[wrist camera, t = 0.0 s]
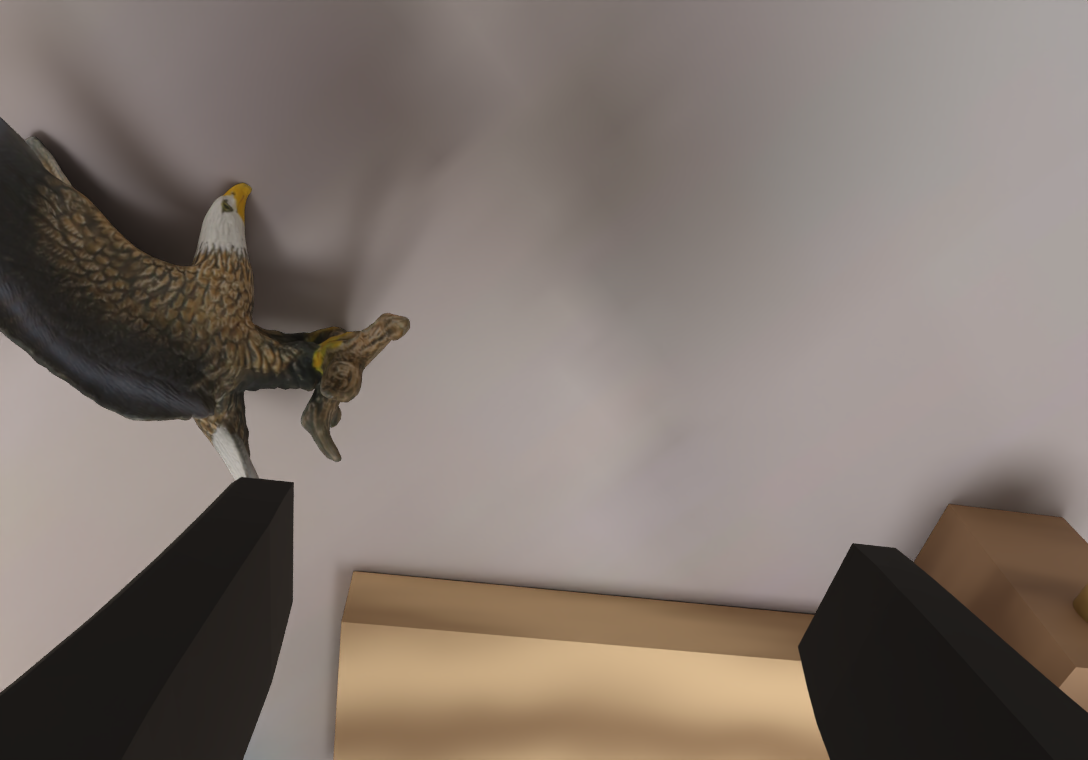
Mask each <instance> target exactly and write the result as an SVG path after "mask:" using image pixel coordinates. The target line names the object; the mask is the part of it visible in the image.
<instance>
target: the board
mask: <svg viewBox="0 0 1088 760" xmlns="http://www.w3.org/2000/svg"><path fill="white" fill-rule="evenodd" d="M813 617H814V615H811V614H800V613H790V612H779V611H769V610H758V609H748V608H737V607H726V606H716V605H705V604H695V603H684V602H673V601H663V600H652V599H642V598H631V597H621V596H610V595H599V594H589V593H578V592H568V591H557V590H546V589H536V588H525V587H515V586H504V585H494V584H483V583H472V582H462V581H451V580H441V579H430V578H419V577H409V576H398V575H388V574H377V573H367V572H356V571H353V576H352V580H351V584H350V588H349V592H348V596H347V601H346V605H345V609H344V613H343V617H342V621H341V637H340V655H339V672H338V689H337V707H336V724H335V741H334V758H333V760H830V758H829V756H828V753H827V750H826V748H825V745H824V742H823V740H822V737H821V734H820V731H819V729H818V726H817V723H816V720H815V716H814V712H813V708H812V704H811V701H810V697H809V693H808V689H807V685H806V681H805V676H804V672H803V667H802V663H801V659H800V654H799V650H798V645H799V643H800V641H801V639H802V638H803V636H804V634H805V632H806V630H807V628H808V626H809V624H810V622H811V621H812V619H813Z"/></svg>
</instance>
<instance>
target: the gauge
mask: <svg viewBox="0 0 1088 760" xmlns="http://www.w3.org/2000/svg"><path fill="white" fill-rule="evenodd" d="M914 563H915V564H916V565H917V566H919V567H920V568H921V569H922V570H924V571H925V572H926V573H927V574H928V575H930V576H931V577H932V578H933V579H934V580H935V581H937V582H938V583H939V584H940V585H941V586H942V587H944V588H945V589H946V590H947V591H948V592H949V593H951V594H952V595H953V596H954V597H955V598H956V599H957V600H959V601H960V602H961V603H962V604H963V605H964V606H965V607H967V608H968V609H969V610H970V611H971V612H972V613H973V614H975V615H976V616H977V617H978V618H979V619H980V620H981V621H982V622H984V623H985V624H986V625H987V626H988V627H989V628H990V629H992V630H993V631H994V632H995V633H996V634H997V635H998V636H1000V637H1001V638H1002V639H1003V640H1004V641H1005V642H1006V643H1008V644H1009V645H1010V646H1011V647H1012V648H1013V649H1014V650H1016V651H1017V652H1018V653H1019V654H1020V655H1021V656H1022V657H1023V658H1025V659H1026V660H1027V661H1028V662H1029V663H1030V664H1032V665H1033V666H1034V667H1035V668H1036V669H1037V670H1038V671H1040V672H1041V673H1042V674H1043V675H1044V676H1045V677H1047V678H1048V679H1049V680H1050V681H1051V682H1052V683H1054V684H1055V685H1056V686H1057V687H1058V688H1059V689H1061V690H1062V691H1063V692H1064V693H1065V694H1066V695H1068V696H1069V697H1070V698H1071V699H1072V700H1074V701H1075V702H1076V703H1077V704H1078V705H1079V706H1081V707H1082V708H1083V709H1084V710H1085V711H1087V712H1088V543H1087V542H1086V541H1085V540H1084V539H1083V538H1082V537H1081V536H1080V535H1079V534H1078V533H1077V532H1076V531H1075V530H1074V529H1073V528H1072V527H1071V526H1070V524H1069V523H1068V522H1067V521H1066V520H1065V519H1064V518H1062V517H1054V516H1045V515H1037V514H1028V513H1020V512H1012V511H1003V510H995V509H986V508H978V507H969V506H961V505H953V504H948V506H947V508H946V509H945V511H944V513H943V514H942V516H941V518H940V519H939V521H938V523H937V524H936V526H935V528H934V529H933V531H932V533H931V534H930V536H929V538H928V539H927V541H926V543H925V544H924V546H923V548H922V549H921V551H920V553H919V554H918V556H917V558H916V559H915V561H914Z"/></svg>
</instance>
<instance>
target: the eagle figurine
mask: <svg viewBox="0 0 1088 760" xmlns="http://www.w3.org/2000/svg"><path fill="white" fill-rule="evenodd" d="M251 190H252V189H251V187H250V186H248V185H247V184H245V183H240V184H237V185H235V186H233V187H232V188H230V189H229V190H228V191H227V192H226V193H225V194H224V195H223V196H220V197H219V198H217V199H216V200H215V201H214V203H213V204H212V206H211V207H210V209H209V211H208V212H207V214H206V216H205V218H204V221H203V224H202V228H201V233H200V237H199V241H198V246H197V250H196V253H195V256H194V259H193V263H192V266H178V265H174V264H171V263H168V262H165V261H162V260H159V259H157V258H154V257H152V256H150V255H148V254H146V253H145V252H143V251H141V250H140V249H138V248H136V247H135V246H134V245H133V244H131V243H130V242H129V241H128V240H127V239H126V238H125V237H124V236H123V235H122V234H121V233H119V232H118V231H117V230H116V228H115V227H114V226H113V225H112V224H111V223H110V222H109V221H108V220H107V218H106V217H105V216H104V215H103V214H102V213H101V212H100V210H99V209H98V208H97V207H96V206H95V205H94V204H93V203H92V202H91V201H90V200H89V199H88V198H87V197H86V196H84V195H83V194H82V193H80V192H79V191H77V190H76V189H75V188H73V187H72V185H71V184H70V182H69V180H68V179H67V177H66V176H65V175H64V174H63V172H62V170H61V168H60V166H59V165H58V164H57V162H56V160H55V158H54V157H53V155H52V154H51V153H50V152H49V151H48V150H47V149H46V148H45V146H44V145H43V144H42V142H41V141H40V140H39V139H38V138H36V137H29V138H27V139H26V141H24V140H23V139H22V138H21V136H20V135H19V134H17V133H16V132H15V131H14V130H13V129H12V128H11V127H10V126H9V125H8V124H7V123H6V122H5V121H4V120H3V119H2V118H1V117H0V331H1V332H2V333H3V334H4V335H5V336H6V337H8V338H9V339H10V340H11V341H12V342H14V343H15V344H16V345H18V346H19V347H20V348H22V349H23V350H24V351H26V352H27V353H28V354H29V355H30V356H31V357H32V358H33V359H34V360H35V361H36V362H37V363H38V364H40V365H42V366H44V367H45V368H47V369H48V370H49V371H50V372H51V373H52V374H54V375H55V376H57V377H59V378H61V379H63V380H65V381H66V382H68V383H69V384H70V385H71V386H73V387H74V388H76V389H77V390H78V391H80V392H81V393H82V394H83V395H85V396H87V397H89V398H90V399H92V400H94V401H95V402H96V403H97V404H99V405H100V406H102V407H104V408H106V409H108V410H111V411H114V412H116V413H118V414H120V415H122V416H124V417H125V418H128V419H132V420H139V421H154V420H157V421H162V420H175V419H181V420H189V419H190V418H191V417H193V418H194V420H195V422H196V423H197V425H198V427H199V428H200V429H201V430H202V432H203V433H204V434H205V435H206V437H207V438H208V439H209V441H210V442H211V443H212V445H213V446H214V448H215V449H216V450H217V451H218V453H219V455H220V456H221V458H222V459H223V461H224V462H225V464H226V466H227V467H228V469H229V471H230V473H231V474H232V476H233V478H234V479H235V481H236V480H237V479H239V478H240V477H248V478H257V479H259V477H258V475H257V473H256V471H255V468H254V466H253V464H252V462H251V460H250V450H249V444H248V437H249V431H248V428H247V425H246V418H245V404H244V391H245V390H249V391H257V390H259V389H269V388H270V389H275V388H277V387H279V388H282V389H285V390H286V389H289V388H292V389H298V388H301V389H304V390H307V391H312V390H313V389H315V390H314V393H313V395H312V397H311V399H310V401H309V402H308V404H307V406H306V408H305V410H304V412H303V414H302V417H301V424H302V426H303V427H304V428H305V429H306V430H307V431H308V432H309V433H310V434H311V435H312V437H313V439H314V441H315V442H316V444H317V446H318V447H319V449H320V450H321V451H322V453H323V454H324V455H325V456H326V457H327V458H329V459H331V460H333V461H335V462H339V461H341V455H340V453H339V451H338V449H337V447H336V445H335V444H334V442H333V440H332V438H331V436H330V431H329V430H330V427H331V428H332V427H334V426H336V425H337V424H338V422H339V421H340V419H341V411H340V408H339V406H338V405H339V403H340V402H349V401H350V400H352V399H353V398H354V397H355V396H357V395H358V393H359V390H360V388H361V383H362V372H363V370H364V369H365V367H366V366H367V365H368V364H369V363H370V362H371V361H372V360H373V359H374V358H375V357H376V356H377V355H378V354H379V353H380V352H381V351H382V350H383V349H384V348H385V346H386V345H387V344H388V343H389V342H390V341H391V340H393V341H394V340H398V339H399V338H401V337H402V336H404V335H405V334H406V332H407V331H408V330H409V329H410V321H409V319H408V318H406V317H402V316H398V315H393V314H390V313H385V314H382V315H381V316H380V317H379V318H378V319H377V320H376V321H375V322H374V323H373V324H371V325H370V326H369V327H368V328H366V329H364V330H362V331H353V332H346V331H345V330H344V329H342V328H339V327H329V328H325V329H320V330H317V331H314V332H312V333H295V334H285V333H282V332H280V331H276V330H265V329H262V328H260V327H259V326H257V325H255V324H253V323H252V311H253V304H254V279H253V272H252V268H251V264H250V261H249V257H248V251H247V246H246V241H245V216H244V211H245V204H246V200H247V197H248V195H249V194H250V193H251Z"/></svg>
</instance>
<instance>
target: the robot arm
mask: <svg viewBox="0 0 1088 760" xmlns="http://www.w3.org/2000/svg"><path fill="white" fill-rule="evenodd" d="M293 501H294V482H284V481H275V480H266V479H257V478H248V477H240V478H239V479H237V480H236V481H234V482H233V483H231V484H230V485H229V486H228V487H227V488H226V489H225V490H224V492H223V493H222V494H221V495H220V496H219V497H218V498H217V499H216V500H215V501H214V502H213V503H212V504H211V505H210V506H209V507H208V508H207V509H206V510H205V511H204V512H203V513H202V514H201V515H200V516H199V517H198V518H197V519H196V520H195V521H194V522H193V523H192V524H191V525H190V526H189V527H188V528H187V529H186V530H185V531H184V532H183V533H182V534H181V535H180V536H179V537H178V538H177V539H176V540H175V541H173V542H172V543H171V544H170V545H169V546H168V547H167V548H166V549H165V550H164V551H163V552H162V553H161V554H160V555H159V556H158V557H157V558H156V559H155V560H154V561H153V562H151V563H150V564H149V565H148V566H147V567H146V568H145V569H144V570H143V571H142V572H141V573H139V574H138V575H137V576H136V577H135V578H134V579H133V580H132V581H131V582H130V583H129V584H127V585H126V586H125V587H124V588H123V589H122V590H121V591H120V592H119V593H118V594H116V595H115V596H114V597H113V598H112V599H111V600H110V601H109V602H108V603H107V604H106V605H104V606H103V607H102V608H101V609H100V610H99V611H98V612H97V613H95V614H94V615H93V616H92V617H91V618H90V619H89V620H87V621H86V622H85V623H84V624H83V625H82V626H80V627H79V628H78V629H77V630H76V631H74V632H73V633H72V634H71V635H70V636H68V637H67V638H66V639H65V640H64V641H62V642H61V643H60V644H59V645H58V646H56V647H55V648H54V649H53V650H52V651H50V652H49V653H48V654H47V655H46V656H44V657H43V658H42V659H41V660H40V661H38V662H37V663H36V664H35V665H34V666H32V667H31V668H30V669H29V670H28V671H26V672H25V673H24V674H23V675H22V676H20V677H19V678H18V679H17V680H16V681H14V682H13V683H12V684H11V685H9V686H8V687H7V688H6V689H4V690H3V691H2V692H0V760H243V758H244V755H245V752H246V750H247V747H248V744H249V742H250V739H251V737H252V734H253V731H254V729H255V726H256V723H257V721H258V718H259V715H260V713H261V710H262V707H263V705H264V702H265V699H266V697H267V694H268V691H269V688H270V686H271V683H272V679H273V676H274V672H275V668H276V665H277V661H278V657H279V653H280V650H281V646H282V642H283V638H284V634H285V630H286V626H287V622H288V618H289V614H290V610H291V606H292V602H293ZM798 650H799V654H800V659H801V663H802V667H803V672H804V676H805V681H806V685H807V689H808V693H809V697H810V701H811V704H812V708H813V712H814V716H815V720H816V723H817V726H818V729H819V731H820V734H821V737H822V740H823V742H824V745H825V748H826V750H827V753H828V756H829V758H830V760H1088V712H1087V711H1085V710H1084V709H1083V708H1082V707H1081V706H1079V705H1078V704H1077V703H1076V702H1075V701H1074V700H1072V699H1071V698H1070V697H1069V696H1068V695H1066V694H1065V693H1064V692H1063V691H1062V690H1061V689H1059V688H1058V687H1057V686H1056V685H1055V684H1054V683H1052V682H1051V681H1050V680H1049V679H1048V678H1047V677H1045V676H1044V675H1043V674H1042V673H1041V672H1040V671H1038V670H1037V669H1036V668H1035V667H1034V666H1033V665H1032V664H1030V663H1029V662H1028V661H1027V660H1026V659H1025V658H1023V657H1022V656H1021V655H1020V654H1019V653H1018V652H1017V651H1016V650H1014V649H1013V648H1012V647H1011V646H1010V645H1009V644H1008V643H1006V642H1005V641H1004V640H1003V639H1002V638H1001V637H1000V636H998V635H997V634H996V633H995V632H994V631H993V630H992V629H990V628H989V627H988V626H987V625H986V624H985V623H984V622H982V621H981V620H980V619H979V618H978V617H977V616H976V615H975V614H973V613H972V612H971V611H970V610H969V609H968V608H967V607H965V606H964V605H963V604H962V603H961V602H960V601H959V600H957V599H956V598H955V597H954V596H953V595H952V594H951V593H949V592H948V591H947V590H946V589H945V588H944V587H942V586H941V585H940V584H939V583H938V582H937V581H935V580H934V579H933V578H932V577H931V576H930V575H928V574H927V573H926V572H925V571H924V570H922V569H921V568H920V567H919V566H917V565H916V564H915V563H914V562H913V561H911V560H910V559H909V558H907V557H906V556H905V555H904V554H902V553H901V552H900V551H898V550H897V549H896V548H891V547H881V546H872V545H863V544H854V543H852V545H851V547H850V549H849V551H848V553H847V555H846V557H845V558H844V560H843V562H842V564H841V566H840V568H839V570H838V572H837V574H836V575H835V577H834V579H833V581H832V583H831V585H830V587H829V589H828V590H827V592H826V594H825V596H824V598H823V600H822V602H821V604H820V606H819V607H818V609H817V611H816V613H815V615H814V617H813V619H812V621H811V622H810V624H809V626H808V628H807V630H806V632H805V634H804V636H803V638H802V639H801V641H800V643H799V645H798Z"/></svg>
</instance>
